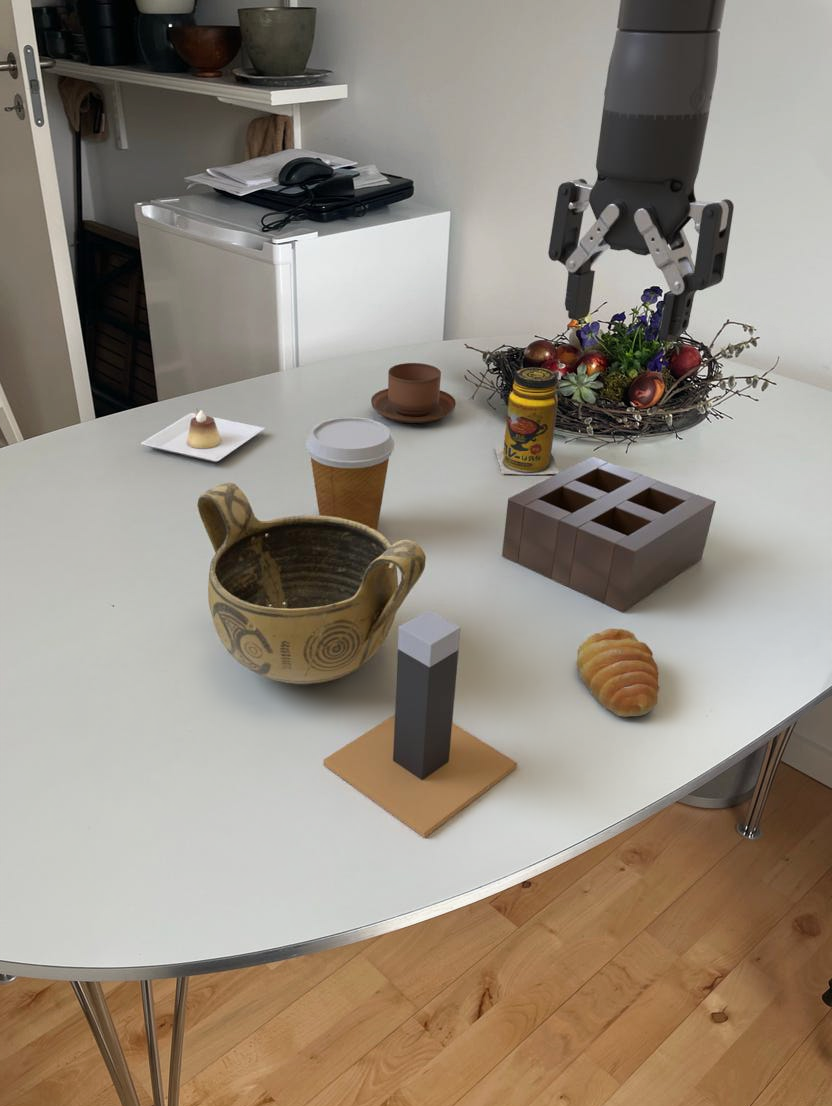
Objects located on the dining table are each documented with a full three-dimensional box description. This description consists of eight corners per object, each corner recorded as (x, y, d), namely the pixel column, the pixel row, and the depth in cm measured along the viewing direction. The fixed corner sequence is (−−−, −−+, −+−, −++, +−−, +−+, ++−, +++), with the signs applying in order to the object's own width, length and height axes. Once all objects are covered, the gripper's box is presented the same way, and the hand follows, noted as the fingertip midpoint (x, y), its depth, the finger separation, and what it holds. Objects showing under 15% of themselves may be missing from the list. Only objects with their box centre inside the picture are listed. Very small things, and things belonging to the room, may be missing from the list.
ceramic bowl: (457, 659, 90) (470, 514, 81) (350, 758, 78) (352, 603, 70) (271, 584, 100) (265, 449, 92) (153, 662, 89) (133, 516, 80)
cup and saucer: (363, 401, 142) (364, 359, 139) (442, 396, 144) (445, 355, 141) (380, 433, 133) (381, 389, 129) (464, 427, 135) (468, 384, 131)
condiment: (502, 475, 122) (512, 383, 115) (494, 447, 129) (502, 359, 122) (559, 475, 122) (573, 383, 115) (548, 448, 129) (560, 359, 122)
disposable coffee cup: (357, 505, 115) (359, 408, 108) (408, 536, 109) (413, 436, 102) (290, 527, 110) (287, 428, 104) (339, 561, 104) (339, 458, 97)
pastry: (674, 721, 83) (682, 685, 80) (596, 725, 82) (603, 689, 80) (639, 656, 90) (646, 622, 88) (568, 660, 90) (573, 626, 88)
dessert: (191, 419, 136) (188, 386, 133) (265, 435, 132) (264, 401, 129) (140, 451, 127) (136, 416, 124) (218, 469, 123) (215, 433, 120)
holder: (701, 559, 105) (716, 501, 101) (622, 612, 96) (635, 551, 92) (583, 511, 114) (592, 456, 110) (501, 556, 105) (507, 498, 101)
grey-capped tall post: (449, 761, 77) (461, 627, 70) (422, 780, 76) (431, 644, 68) (419, 742, 79) (428, 609, 72) (392, 760, 77) (398, 626, 70)
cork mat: (516, 768, 78) (517, 762, 77) (424, 838, 71) (424, 832, 71) (416, 705, 84) (416, 700, 84) (323, 765, 78) (323, 759, 77)
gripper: (774, 107, 68) (724, 336, 78) (600, 92, 77) (574, 302, 86) (723, 117, 64) (677, 359, 73) (545, 100, 72) (524, 320, 81)
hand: (622, 328), depth 79 cm, fingers open, 8 cm apart
